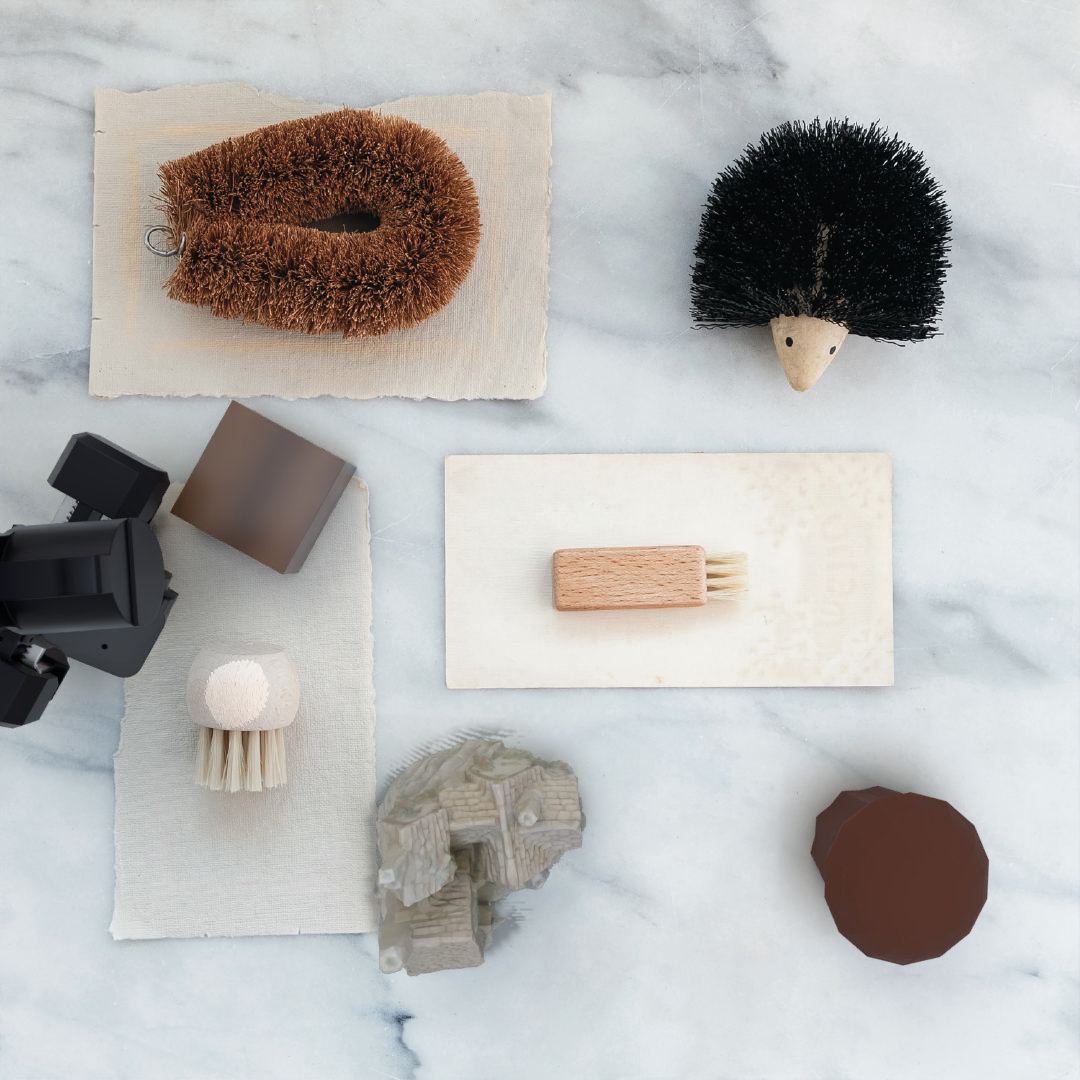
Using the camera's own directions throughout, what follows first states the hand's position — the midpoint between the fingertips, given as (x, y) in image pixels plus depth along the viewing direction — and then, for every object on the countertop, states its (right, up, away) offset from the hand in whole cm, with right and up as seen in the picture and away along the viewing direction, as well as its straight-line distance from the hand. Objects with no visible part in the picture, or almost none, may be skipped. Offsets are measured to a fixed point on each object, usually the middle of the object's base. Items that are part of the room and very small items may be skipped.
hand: (118, 575), depth 62 cm
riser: (+11, +6, +1) cm, 13 cm away
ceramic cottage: (+27, -20, +1) cm, 33 cm away
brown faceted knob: (+56, -20, +2) cm, 60 cm away
